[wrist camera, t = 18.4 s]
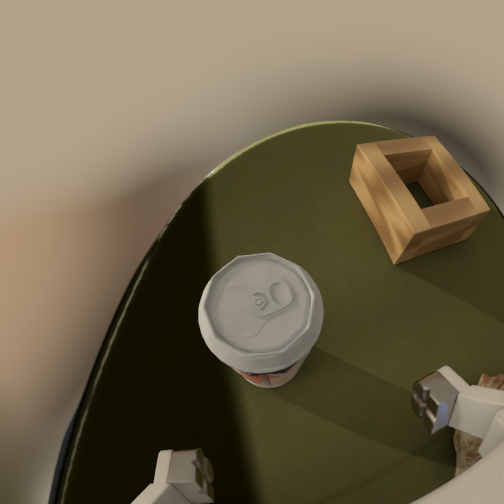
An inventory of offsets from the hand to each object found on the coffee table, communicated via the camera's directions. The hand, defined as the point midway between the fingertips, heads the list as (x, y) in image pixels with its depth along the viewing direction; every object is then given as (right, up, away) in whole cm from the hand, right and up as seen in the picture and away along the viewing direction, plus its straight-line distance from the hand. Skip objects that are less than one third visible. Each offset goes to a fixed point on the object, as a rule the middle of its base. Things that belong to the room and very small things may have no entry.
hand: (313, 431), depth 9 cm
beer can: (-1, -1, +12) cm, 12 cm away
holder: (+14, +11, +17) cm, 24 cm away
